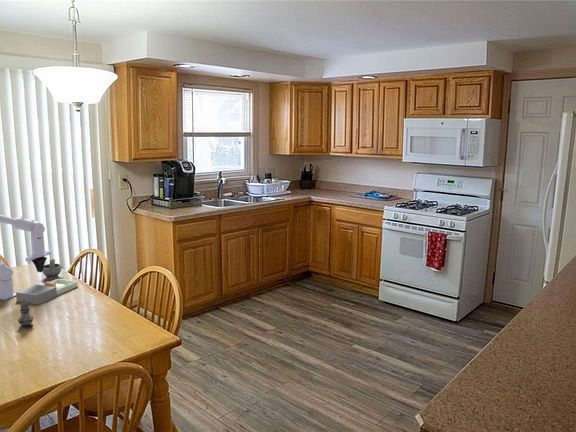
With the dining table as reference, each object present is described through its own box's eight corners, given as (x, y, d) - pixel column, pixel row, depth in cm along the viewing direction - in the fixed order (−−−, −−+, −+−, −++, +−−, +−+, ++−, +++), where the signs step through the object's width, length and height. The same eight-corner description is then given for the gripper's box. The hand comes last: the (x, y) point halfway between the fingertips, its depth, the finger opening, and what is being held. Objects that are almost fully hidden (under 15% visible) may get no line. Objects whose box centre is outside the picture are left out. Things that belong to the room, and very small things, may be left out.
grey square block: (16, 301, 223) (15, 292, 222) (36, 293, 235) (36, 284, 234) (37, 304, 220) (36, 295, 219) (56, 296, 231) (55, 287, 230)
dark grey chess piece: (27, 330, 192) (24, 302, 190) (14, 328, 194) (12, 301, 191) (37, 324, 198) (35, 297, 196) (25, 323, 199) (22, 296, 197)
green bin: (37, 292, 235) (37, 287, 234) (58, 284, 248) (58, 278, 248) (57, 295, 232) (56, 289, 231) (77, 286, 245) (77, 281, 244)
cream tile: (56, 283, 242) (57, 287, 243) (49, 286, 237) (49, 290, 238) (64, 284, 241) (65, 288, 241) (57, 287, 236) (57, 291, 236)
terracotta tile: (44, 282, 234) (47, 281, 236) (45, 292, 235) (48, 291, 237) (52, 283, 233) (55, 282, 234) (53, 293, 233) (56, 292, 235)
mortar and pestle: (41, 277, 259) (40, 255, 257) (60, 274, 264) (58, 253, 262) (44, 282, 250) (42, 260, 248) (63, 280, 255) (62, 258, 253)
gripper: (32, 249, 228) (34, 276, 230) (55, 243, 241) (57, 268, 244) (21, 248, 230) (23, 275, 232) (44, 241, 243) (46, 267, 246)
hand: (40, 271), depth 238 cm, fingers closed
